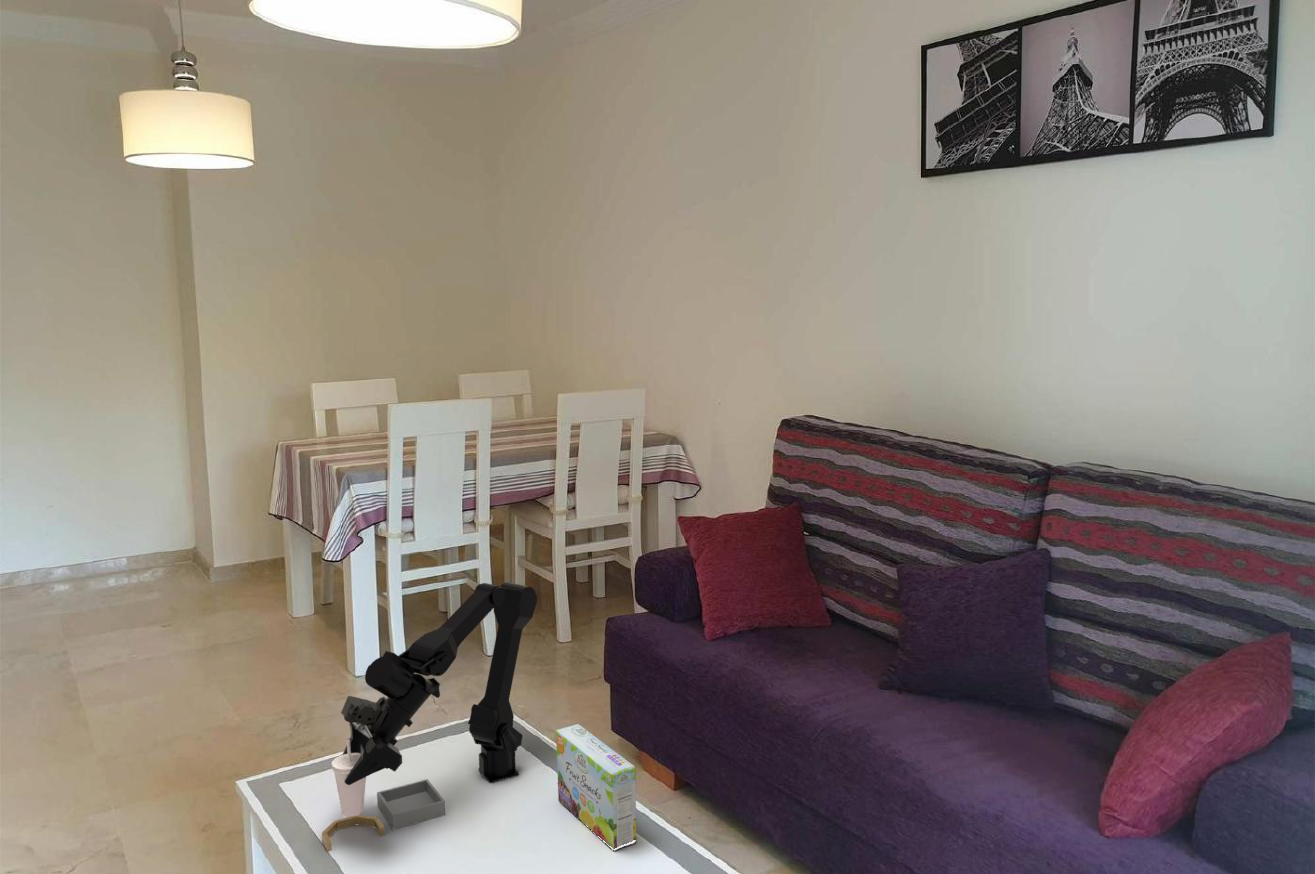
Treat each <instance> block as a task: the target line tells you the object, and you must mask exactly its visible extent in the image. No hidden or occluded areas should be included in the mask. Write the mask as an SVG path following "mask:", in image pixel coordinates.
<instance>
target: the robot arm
mask: <svg viewBox="0 0 1315 874" xmlns="http://www.w3.org/2000/svg"><path fill="white" fill-rule="evenodd" d="M537 604H538V594H537V593H536V591H535V589H534V588H533V587H532V586H528V585H524V584H521V583H520V584H519V583H513V582H509V581H506V582H503V583H501V585H495V584H491V583H488V582H487V583H486V582H482V583H479V584H477V586H476V587H475V589H474V592H473V593H472V594H471V595H470V596H469V597H468V598H467V599H466V600H465V601H464V602H463V603H462V604H461V605H460V606H459V607H458V608H457V610H455V611H454V612H453V614H451V616H450V617H448V619H446V621H444V623H443V624H442V625H441V626H439V627H438V628H437V629H434V630H432V631H430V632H427V633H424V634H423V635H422V636H421V637H419V638H418V639H416V640H415V641H414V642H413V643H412V644H411V645H410V646H409V647H408V649H406V650H405V651H402V653H400V654H398V655H397V654H396V653H395V652H392V651H389V650H385V652H384V654H383V656H380V657H378V658H376V659H374V661H372V662H371V664H369V665H368V667H367V668H366V671H365V675H364V679H365V683H366V685H367V686H368V687H370V688H372V689H374V690H376V691H377V692H379V693H381V694H382V695H383V696H382V697H380V698H379V699H377V701H375V702H374V701H371V700H368V699H364V698H360V697H357V696H356V697H355V696H352V695H348V696H347V698H346V700H345V702H344V705H343V708H342V709H341V711H340V713H341V715H343V718H344V721H345V722H348V723H349V730H350V737H349V739H350V747H351V753H361V756H360V758H359V759H358V761H357V762H356V764H355V765H354V767H353V768H352V770H351V771H350V773H349V774H348V776H347V778H346V779H345V781H344V782H345V783H346V784H347V785H351V784H353V783H355V782H357V781H359V780H361V779H363V778H365V777H366V778H367V777H368V776H371V775H372V774H374V773H377V772H380V771H382V770H384V769H386V770H391V771H393V772H397V770H398V769H399V767H401V765H402V764H403V755H402V754H401V752H400V750H399V749H398V747H396V746H395V745H396V744H397V743H398V740H397V738H396V737H397V736H398V734H400V733H401V732H402V730H403V729H404V728H405V726H406V727H408V728H410V727H411V725H412V724H414V722H413V721H412V718H413V717H414V715H415V714H416V713H417V712H418V711H419V709H420V708H422V707H423V705H424V704H425V703H426V701H427V700H428V699H429V697H430V696H431V695H432V696H433V697H435V698H437V699H439V698H440V696H441V691H440V686H441V685H440V684H441V683H440V682H438V680H437V679H436V678H435V677H441V676H443V675H444V674H445V673H446V672H447V671H448V669H449V668H450V667H451V665H452V664H453V663H454V661H455V659H456V658H457V656H458V655H457V654H458V648H459V647H460V645H461V644H462V642H464V641H465V639H466V638H467V637H468V636H469V635H470V634H471V633H472V632H473V631H474V629H476V628H477V626H478V625H480V624H481V622H482V621H483V620H484V619H485V618H486V617H487V616H488V615H489V614H490V612H492V610H493V613H494V616H495V619H496V623H497V630H496V634H495V635H496V636H495V640H494V645H493V651H492V657H491V661H490V666H489V672H488V678H487V682H486V687H485V691H484V692H485V693H484V696H483V698H482V699H480V701H479V702H478V703H477V704H475V703H473V705H472V706H471V708H470V709H471V711H470V718H469V720H468V722H467V724H468V725H469V733H470V735H471V737H472V739H473V742H474V744H476V745H480V752H479V754H478V769H477V770H478V772H479V774H481V775H482V777H484V778H485V780H486V781H488V783H495V782H498V781H502V780H507V779H509V778H514V777H517V776H519V775H520V772H519V771H518V770H517V769H516V752H517V751H518V748H519V747H521V745H522V741H523V737H524V736H523V734H522V733H521V732H520V731H518V730H517V729H516V728H515V727H514V712H513V708H512V706H511V703H510V695H511V691H512V686H513V679H514V675H515V671H516V665H517V660H518V654H519V649H520V644H521V638H522V633H523V629H524V628H525V627H526V626H527V624H528V623H530V621H531V620H533V616H534V613H535V609H536V606H537ZM429 676H433V678H426V677H429ZM386 697H387V698H386ZM344 754H348V752H347V745H346V746H345V749H344V750H343V753H342V755H344Z"/></svg>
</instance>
